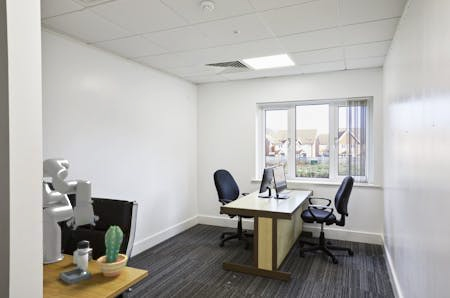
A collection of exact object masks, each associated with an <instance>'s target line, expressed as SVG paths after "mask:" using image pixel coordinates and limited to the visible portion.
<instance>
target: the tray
mask: <svg viewBox="0 0 450 298" xmlns="http://www.w3.org/2000/svg"><path fill="white" fill-rule="evenodd" d="M84 271H85V272H87V274H85V275H82V276H80V274H81V273H82V272H84ZM59 279H60V280H62V281H63V282H65V283H67V284H68V285H70V286H71V285H74V284H77V283H80V282H83V281H87V280H89V279H92V272H90V271H88V270H87V269H86V270H84V269H83V268H81V267H79V268H77V267H76V268H73V269H69V270H66V271H63V272H60V273H59Z"/></svg>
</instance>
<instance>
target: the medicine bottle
mask: <svg viewBox="0 0 450 298" xmlns="http://www.w3.org/2000/svg"><path fill="white" fill-rule="evenodd" d="M76 247H77V249H76V250H75V251H73V265H77V260H78V252H79V251H81V250H87V253H88V263H90V262H92V261H93V248H90V241H87V240H82V241H81V240H80V241H79V242H77V246H76Z"/></svg>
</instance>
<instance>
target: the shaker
mask: <svg viewBox="0 0 450 298" xmlns="http://www.w3.org/2000/svg"><path fill="white" fill-rule="evenodd" d="M76 265H77V267H76V268H79V267H81V268H83V269H84V270H86V271H87V270H88V269H89V262H88V253H87V250H81V251H79V252H78V260H77V264H76Z"/></svg>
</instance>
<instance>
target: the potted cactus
mask: <svg viewBox="0 0 450 298" xmlns="http://www.w3.org/2000/svg"><path fill="white" fill-rule="evenodd" d="M123 237H124V233H123V231H122V230H121V228H120V227H119V226H118V225H117V226H116V225H114V226H112V225H110V227H109V228H108V229H107V231H106V233H105V236H104V245H105V247H106V249H105V255H103V256H100V257H99V258H98V259H96V264H97V266H98V267H99V269H100V271H101V272H102V273H103V276H105V277H116V276H118V275H120V274H121V273H122V271H123V269H124V268H125V266H126V263H127V262H128V255H126V254H123V253H122V254H121V253H119V252H120V247H121V245H122V243H123Z"/></svg>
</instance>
